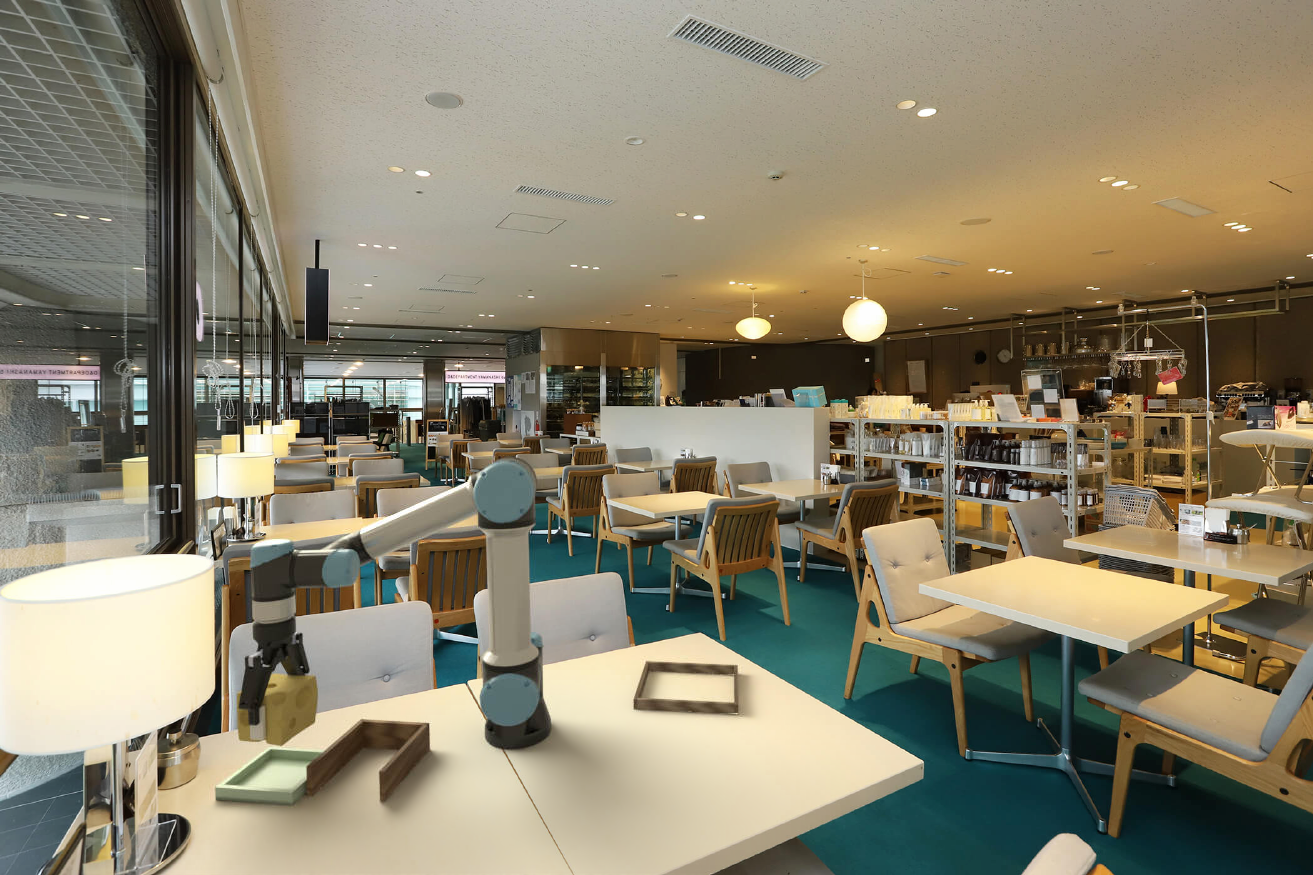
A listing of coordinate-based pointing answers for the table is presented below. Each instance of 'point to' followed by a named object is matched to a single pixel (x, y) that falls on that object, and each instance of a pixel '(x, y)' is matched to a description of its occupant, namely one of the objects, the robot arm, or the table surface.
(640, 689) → the frame
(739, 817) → the table surface
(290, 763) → the tray
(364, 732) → the cubby
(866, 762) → the table surface
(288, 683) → the cheese
